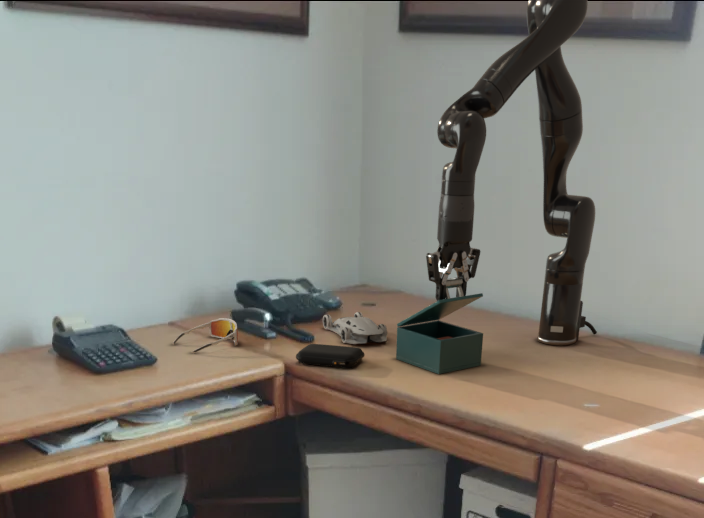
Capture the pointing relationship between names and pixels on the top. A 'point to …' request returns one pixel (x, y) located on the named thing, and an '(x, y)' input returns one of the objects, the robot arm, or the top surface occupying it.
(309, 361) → the carrying case
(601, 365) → the top surface
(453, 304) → the tin lid
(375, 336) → the car model
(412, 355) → the lunch tin
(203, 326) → the sunglasses
